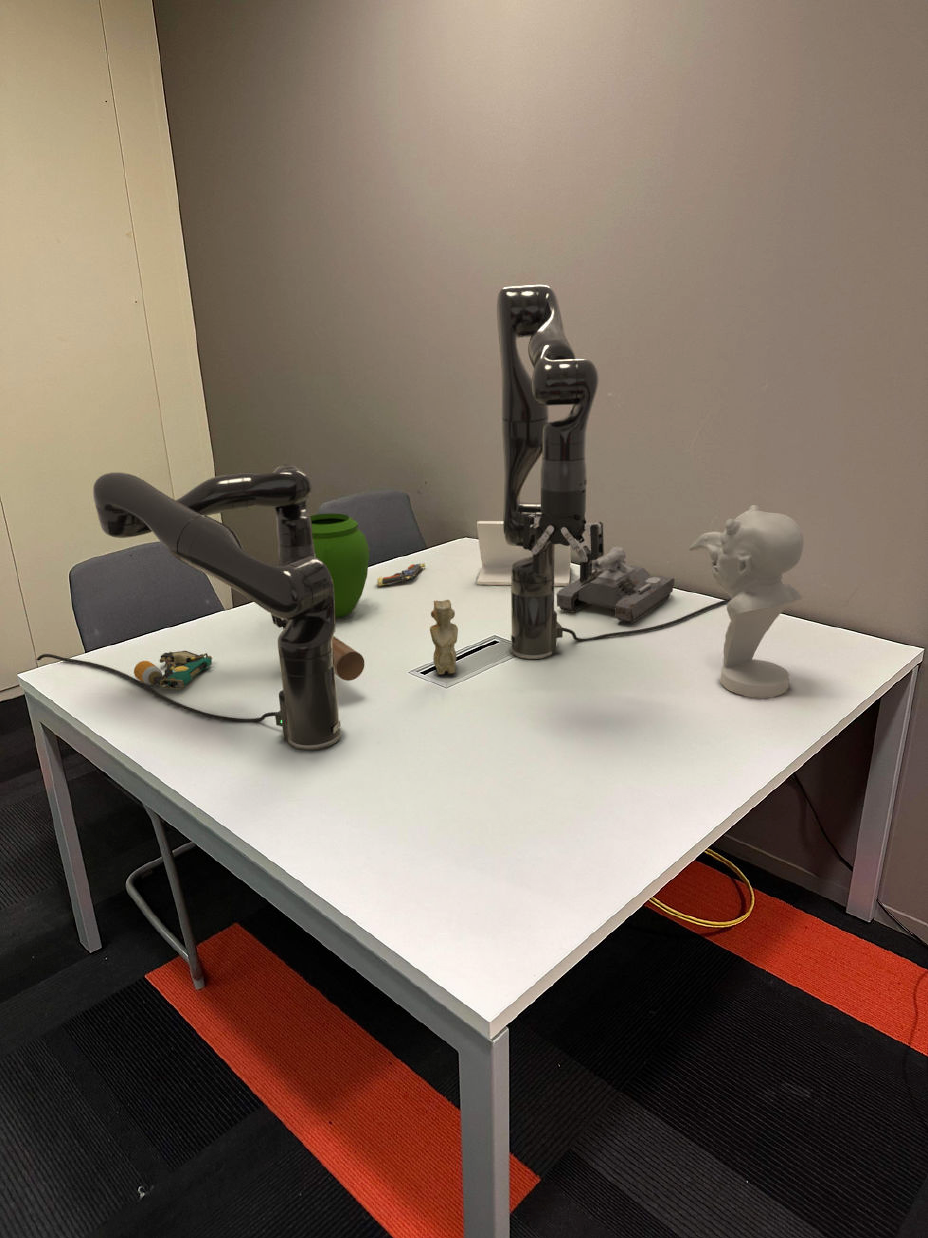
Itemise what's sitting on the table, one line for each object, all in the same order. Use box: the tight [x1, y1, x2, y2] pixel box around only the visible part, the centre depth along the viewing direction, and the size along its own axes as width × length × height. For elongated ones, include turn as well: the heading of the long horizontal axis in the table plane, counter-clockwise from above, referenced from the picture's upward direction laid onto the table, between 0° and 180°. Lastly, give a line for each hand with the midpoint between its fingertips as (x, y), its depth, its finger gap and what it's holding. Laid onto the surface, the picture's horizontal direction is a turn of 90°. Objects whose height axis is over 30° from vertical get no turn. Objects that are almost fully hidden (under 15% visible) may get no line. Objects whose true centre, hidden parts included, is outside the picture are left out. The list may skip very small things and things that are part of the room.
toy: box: [556, 546, 676, 624], centre depth 212 cm, size 25×20×15 cm
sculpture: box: [429, 599, 459, 675], centre depth 177 cm, size 6×7×15 cm
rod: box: [332, 635, 365, 682], centre depth 174 cm, size 26×6×6 cm, turn 34°
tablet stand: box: [476, 520, 572, 587], centre depth 236 cm, size 18×25×17 cm
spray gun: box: [133, 650, 213, 690], centre depth 180 cm, size 4×17×15 cm
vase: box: [309, 512, 370, 620], centre depth 209 cm, size 20×20×24 cm
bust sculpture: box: [688, 504, 804, 699], centre depth 167 cm, size 16×24×35 cm, turn 28°
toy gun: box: [376, 562, 426, 587], centre depth 240 cm, size 3×19×10 cm
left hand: (304, 639), depth 181 cm, fingers closed on rod, 6 cm apart
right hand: (562, 577), depth 147 cm, fingers open, 8 cm apart
